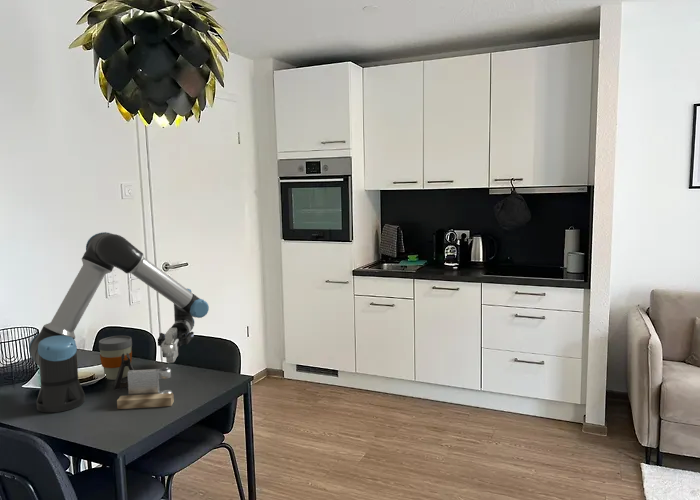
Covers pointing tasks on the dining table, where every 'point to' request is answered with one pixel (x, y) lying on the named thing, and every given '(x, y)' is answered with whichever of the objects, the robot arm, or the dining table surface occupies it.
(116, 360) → the reusable coffee cup
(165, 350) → the loose hinge leaf
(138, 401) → the oak sill
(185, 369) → the dining table surface
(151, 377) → the fixed steel leaf
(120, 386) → the dark forked stand
